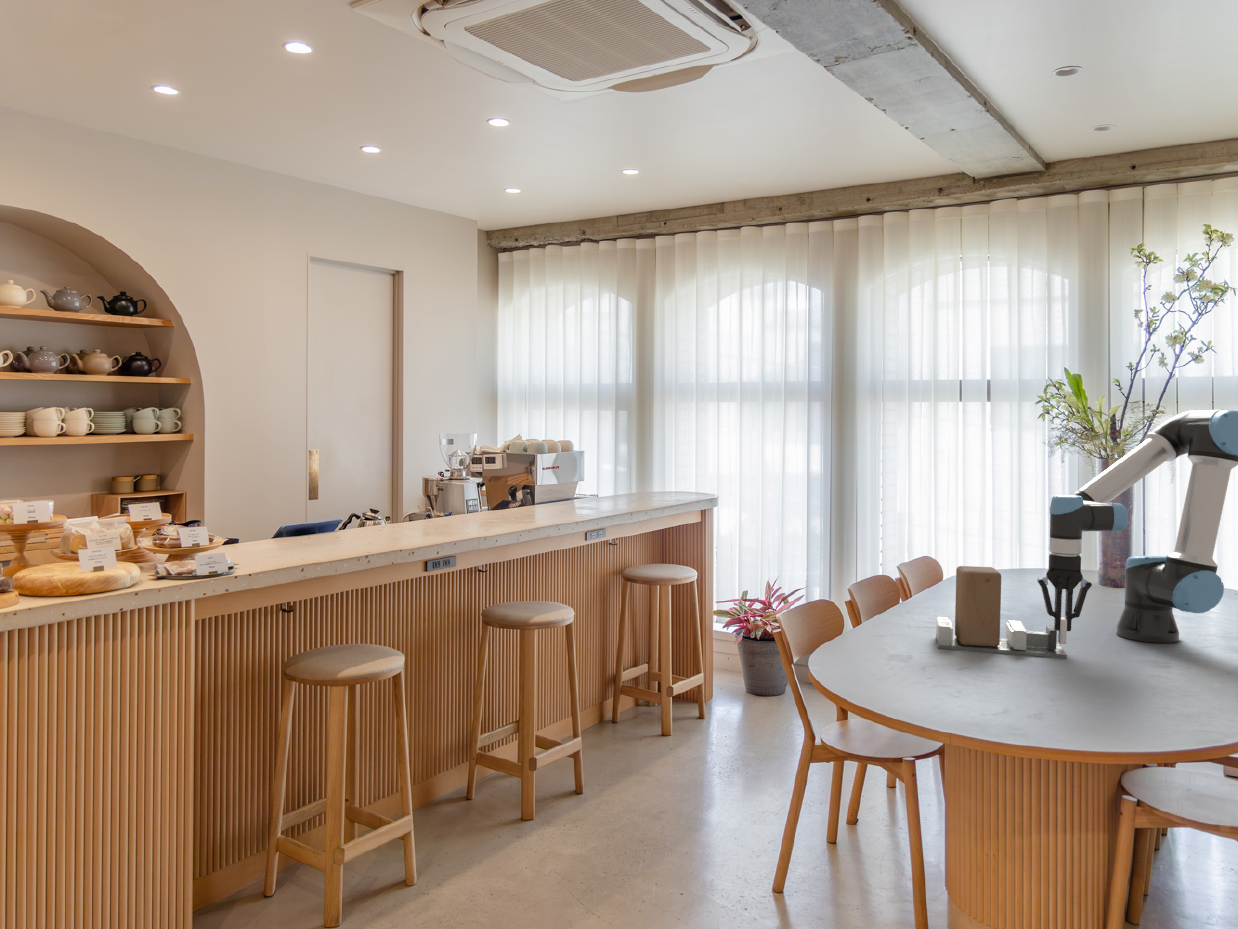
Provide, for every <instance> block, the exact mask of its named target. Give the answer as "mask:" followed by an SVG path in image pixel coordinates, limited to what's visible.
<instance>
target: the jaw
mask: <svg viewBox="0 0 1238 929" xmlns="http://www.w3.org/2000/svg"><path fill="white" fill-rule="evenodd" d="M1045 626H1046V627H1045V631H1040V630H1039V631H1038V630H1037V631H1036V630H1027V629H1026V628H1025V626H1024V625H1023V623H1022V621H1021V620H1009V619H1008V621H1007V622H1006V623H1005V639H1007V640H1008V642H1009V644H1010V646H1011V647H1013V649H1017V650H1026V646H1031V647H1045V648H1049V649H1054V650H1056V643H1058V641H1057V640H1058V638H1057V636H1058V630H1056V629H1055V628H1054V625H1051V624H1049V625H1048V624H1047V625H1045Z"/></svg>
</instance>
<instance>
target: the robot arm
mask: <svg viewBox="0 0 1238 929" xmlns="http://www.w3.org/2000/svg"><path fill="white" fill-rule="evenodd" d="M1186 454H1187V456H1186V457H1187V458H1188V459H1189V461H1190V462H1191V464H1192V466H1191V470H1190V476H1189V480H1188V485H1187V489H1186V494H1185V499H1184V502H1183V504H1184V505H1183V509H1182V513H1181V518H1180V523H1179V527H1178V533H1177V537H1176V542H1175V547H1174V550H1173V551H1172V552H1170V553H1169V554H1167V555H1166V556H1165V555H1163V556H1162V555H1160V556H1159V555H1135V556H1134V555H1133V556H1130V557H1128V558H1127V559H1126V561H1125V562H1126V563H1125V567H1124V571H1125V573H1124V578H1125V579H1124V607H1123V610H1122V612H1121V615H1120V618H1119V620H1118V621H1117V625H1116V635H1118V636H1119V637H1123V638H1125V639H1129V640H1133V641H1138V642H1146V643H1156V644H1169V643H1177V642H1179V640H1180V631H1179V628H1178V625H1177V622H1176V619H1175V616H1174V612H1173V609H1177V610H1179V611H1181V612H1185V613H1191V614H1204V613H1207V612H1209V611H1210V610H1212V609H1214V608H1215V607H1217V606H1218V605H1219V603H1220V602H1221V601H1222V598H1223V596H1224V592H1225V586H1224V585H1225V584H1224V582H1222V578H1221V577H1220V576H1219V575H1218V574H1217V572H1218V567H1219V565H1218V564H1217V563H1216V562H1215V560H1214V559H1213V558H1214V553H1215V548H1216V542H1217V538H1218V533H1219V528H1220V525H1221V524H1220V523H1221V519H1222V513H1223V510H1224V505H1225V500H1226V496H1227V495H1226V494H1227V491H1228V485H1229V481H1230V475H1231V472H1232V470H1233V469H1234V468H1235V467H1237V466H1238V410H1231V409H1222V408H1221V409H1211V410H1210V409H1209V410H1207V409H1206V410H1205V409H1204V410H1203V409H1202V410H1197V409H1195V410H1187V411H1184V412H1181V413H1179V414H1177V415H1174V416H1173V417H1171V418H1169V419H1167V420H1166V421H1164V422H1163V423H1161V424H1160V425H1158V426H1157V427H1155V428H1154V429H1152V430H1151V431H1150V432H1148V433H1147V434H1145V437H1144V441H1143V442H1141V443H1140V444H1139V445H1137V446H1136V447H1134V449H1132V450H1131V451H1129V452H1128V453H1126V454H1125V455H1123V457H1121V458H1119V459H1118V460H1117V461H1115V462H1114V463H1113V464H1111V465H1109V467H1108V468H1106V469H1105V470H1103V471H1102V472H1101V473H1099V474H1098V475H1096V476H1095V477H1094V478H1092V479H1091V480H1090V481H1089V482H1087V483H1085V484H1084V485H1083V486H1082V487H1080V488H1079V489H1078V490H1076V491H1075V492H1073V493H1071V494H1055V495H1053V496H1052V498H1051V500H1050V501H1051V502H1050V505H1049V506H1050V507H1049V514H1050V516H1049V517H1050V518H1049V547H1048V549H1049V550H1048V551H1049V552H1050V553H1049V555H1048V569H1047V572H1046V575H1045V576H1043V577H1041V578H1040V577H1038V578H1037V583H1038V584H1039V587H1040V588H1041V593H1042V596H1043V600H1044V605H1045V609H1046V613H1047V614H1048V615H1049V616H1051V617H1053V618H1054V622H1053V624H1054V625H1053V626H1054V628H1055V629H1056V630H1057V636H1058V638H1057V640H1058V641H1057V643H1059V645H1067V636H1068V635H1067V633H1068V632H1071V630H1072V620H1073V619H1076V618H1079V617H1080V615H1081V612H1082V610H1083V607H1084V603H1085V600H1086V596H1087V594H1088V591H1089V590H1090V589H1091V587H1092V585H1093V584H1092V583H1091V581H1089V580H1086V579H1085V578H1084V577H1083V574H1082V556H1081V554H1082V543H1083V542H1082V540H1083V539H1082V538H1083V532H1109V533H1112V532H1121V531H1124V529H1126V527H1127V526H1128V523H1129V512H1128V509H1127V508H1126V506H1125V505H1124V504H1122V503H1119V502H1112V501H1113V500H1114V499H1116V498H1118V496H1119V495H1121V494H1123V493H1124V492H1125V491H1127V490H1128V489H1130V488H1131V487H1132V486H1133V485H1136V483H1138V482H1139V481H1140V480H1142V479H1143V478H1144V477H1146V476H1147V475H1149V474H1150V473H1152V472H1153V471H1154V470H1155V469H1157V468H1158V467H1160V466H1161V465H1162V464H1164V463H1165V462H1173V461H1175V460H1176V459H1177V458H1178V457H1181V456H1183V455H1186ZM1049 582H1050V584H1052V586H1053V587H1054V608H1053V605H1052V601H1051V597H1050V594H1049V588H1048V585H1049ZM1078 585H1080V589H1079V592H1078V595H1077V599H1076V601H1075V604H1074V607H1073V596H1074V590H1075V588H1076V587H1077V586H1078ZM1063 590H1065V604H1064V605H1065V607H1064V608H1065V609H1064V610H1065V611H1064V612H1065V613H1064V616H1065V617H1064V616H1062V603H1063V602H1062V601H1063V600H1062V598H1063ZM1073 608H1074V609H1073Z"/></svg>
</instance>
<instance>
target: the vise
mask: <svg viewBox="0 0 1238 929" xmlns="http://www.w3.org/2000/svg"><path fill="white" fill-rule="evenodd" d="M935 633H936V636H935V639H936V644H937V648H938V650H947V651H948V650H950V651H951V650H952V651H961V652H963V651H964V652H975V653H977V652H978V653H986V654H987V653H989V654H990V653H991V654H1001V655H1013V656H1014V655H1016V656H1025V657H1026V656H1028V657H1029V656H1030V657H1038V658H1039V657H1040V658H1041V657H1042V658H1052V659H1053V658H1054V659H1066V660H1067V659H1068V657H1067V656H1068V654H1067V653H1066V652H1065V650H1064V649H1063V648H1062V646H1061V644H1060V643H1059V642H1056V650H1054V649H1049V648H1045V647H1031V646H1026V650H1017V649H1013V647H1011V646H1010V644H1009V642H1008V640H1007V638H1000V644H999V646H996V647H990V646H972V645H962V644H961V643H960V642H959V640H958V639H957V637H956V636H955V634H953V633H954V626H953V623H952V620H951V619H949V616H948V617H947V616H936V632H935Z"/></svg>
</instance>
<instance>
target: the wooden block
mask: <svg viewBox="0 0 1238 929" xmlns="http://www.w3.org/2000/svg"><path fill="white" fill-rule="evenodd" d="M955 570H956V571H955V611H954V612H955V613H954V614H955V616H954V618H955V619H954V635H955V636H956V637H957V639H958V640H959V642H960V643H961V644H962V645H972V646H990V647H996V646H999V644H1000V637H1001V610H1002V608H1001V604H1002V602H1001V601H1002V600H1001V599H1002V574H1001V573H1000V572H999V571H998V570H997V569H995V568H994V567H992V566H969V565H968V566H966V565H959V566H957V567H956V569H955Z"/></svg>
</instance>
